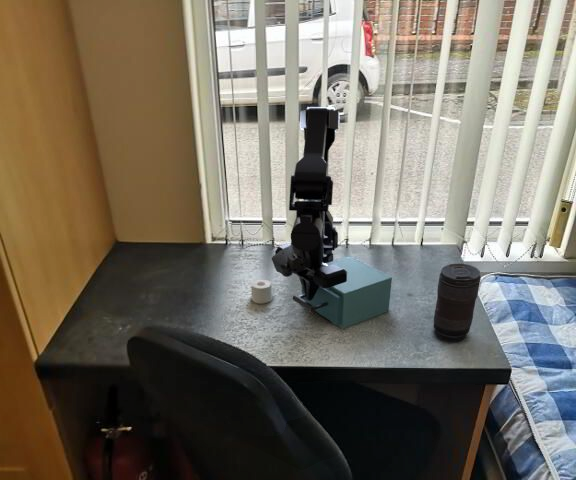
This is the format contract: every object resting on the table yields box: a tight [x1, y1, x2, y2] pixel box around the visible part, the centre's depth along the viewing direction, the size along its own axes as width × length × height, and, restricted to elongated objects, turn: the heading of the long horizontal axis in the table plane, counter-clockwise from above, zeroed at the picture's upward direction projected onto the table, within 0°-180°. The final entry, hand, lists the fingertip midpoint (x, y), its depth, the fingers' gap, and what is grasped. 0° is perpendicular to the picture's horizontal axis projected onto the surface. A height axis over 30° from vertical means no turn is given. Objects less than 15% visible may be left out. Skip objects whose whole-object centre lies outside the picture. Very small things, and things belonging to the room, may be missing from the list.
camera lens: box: [433, 263, 482, 344], centre depth 119 cm, size 8×8×15 cm
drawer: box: [291, 286, 342, 326], centre depth 130 cm, size 17×13×7 cm
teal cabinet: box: [326, 255, 393, 329], centre depth 132 cm, size 14×15×9 cm
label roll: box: [250, 279, 273, 305], centre depth 137 cm, size 5×5×4 cm
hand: (309, 299), depth 127 cm, fingers closed
